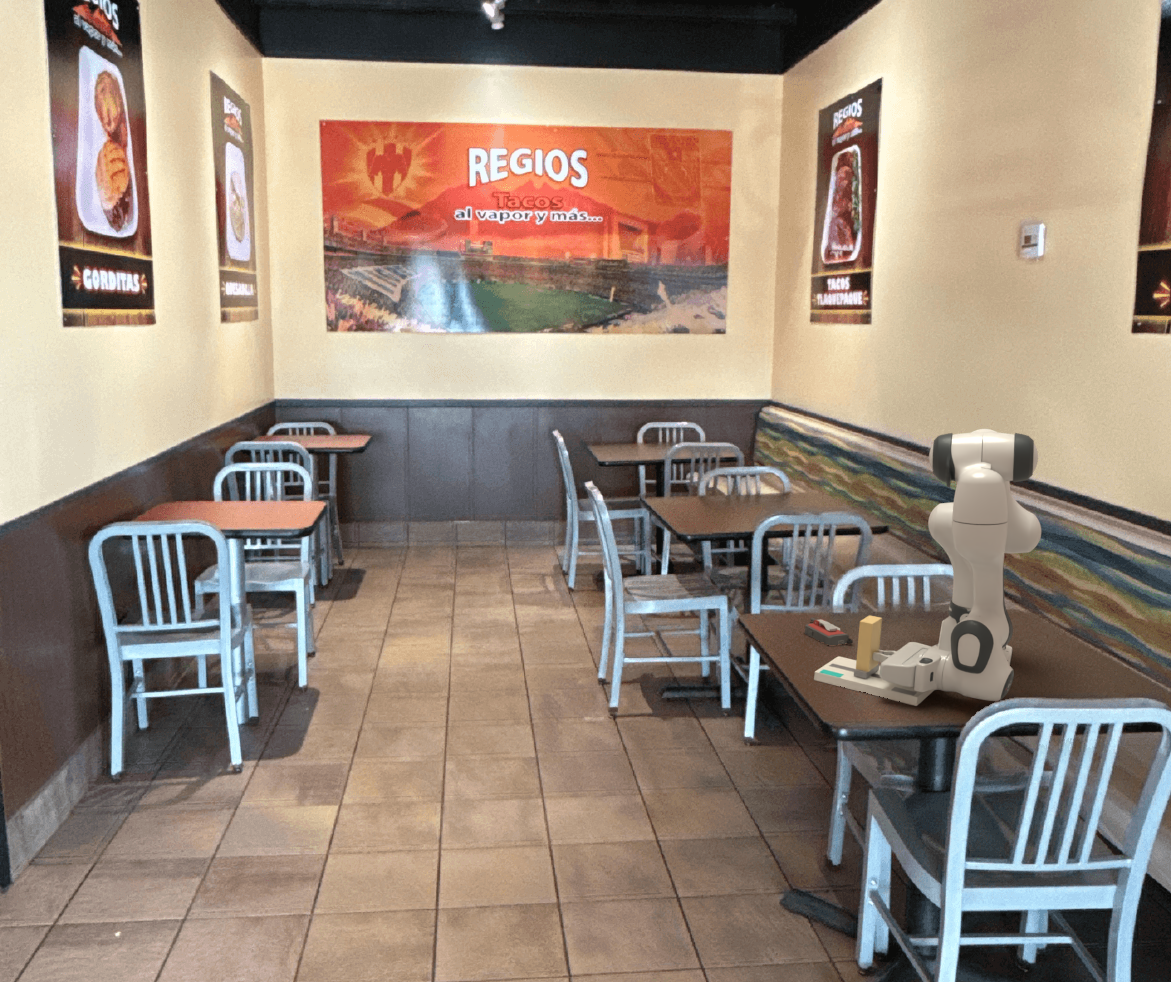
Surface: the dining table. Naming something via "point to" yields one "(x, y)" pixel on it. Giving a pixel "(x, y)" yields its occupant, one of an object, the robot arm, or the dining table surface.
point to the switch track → (866, 682)
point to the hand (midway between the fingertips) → (874, 654)
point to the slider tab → (868, 646)
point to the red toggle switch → (826, 632)
